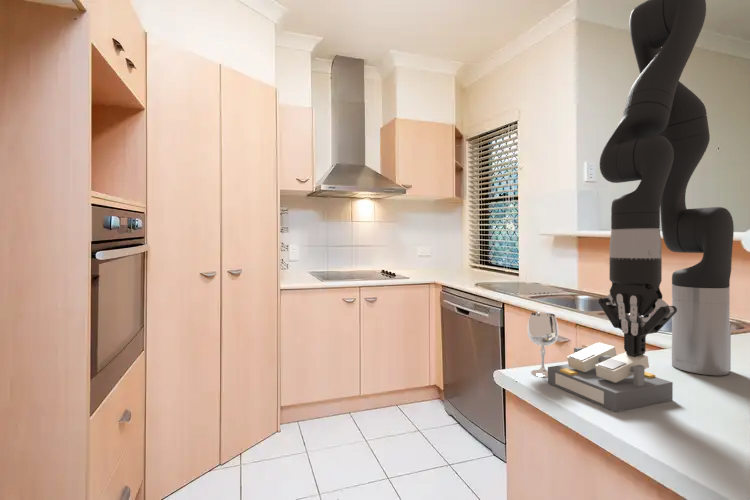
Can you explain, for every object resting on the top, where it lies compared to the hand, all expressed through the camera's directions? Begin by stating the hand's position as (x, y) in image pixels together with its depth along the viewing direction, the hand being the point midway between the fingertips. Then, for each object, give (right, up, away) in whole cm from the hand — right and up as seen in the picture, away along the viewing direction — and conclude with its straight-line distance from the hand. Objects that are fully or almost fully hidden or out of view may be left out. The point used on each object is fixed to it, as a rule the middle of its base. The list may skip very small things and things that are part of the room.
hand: (634, 355), depth 69 cm
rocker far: (-3, -2, -1) cm, 3 cm away
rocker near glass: (-5, -1, +5) cm, 7 cm away
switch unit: (-4, -7, +2) cm, 8 cm away
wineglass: (-11, -7, +11) cm, 17 cm away
